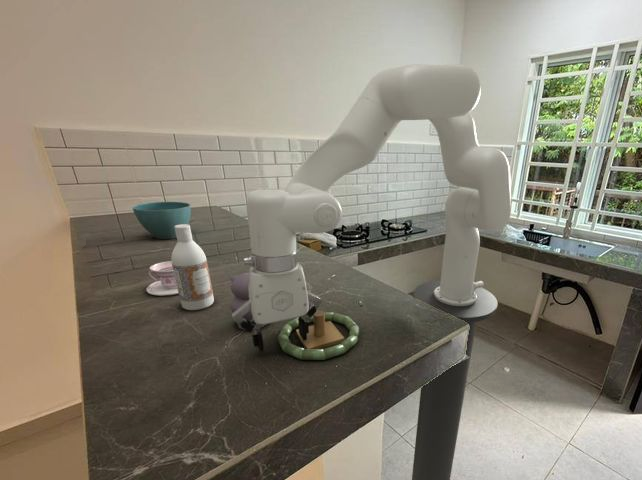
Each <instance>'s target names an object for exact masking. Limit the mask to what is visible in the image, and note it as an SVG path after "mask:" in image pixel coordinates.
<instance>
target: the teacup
mask: <svg viewBox="0 0 642 480" xmlns="http://www.w3.org/2000/svg"><path fill="white" fill-rule="evenodd" d="M146 272H147V273H148V276H149V277H150V278H151V279H153V280H154V282H152V283H150V284H149V285H148V286H146V289H145V291H146V293H147V294H149V295H151V296H160V297H164V296H174V295H179V292H178V288H177V284H176V280H175V275H174V271H173V267H172V261H171V260H168V261H162V262H158V263H155V264H153V265H152V264H151V266H149V269H148V270H146ZM152 273H154V274H156V276H157V277H158V278H159V279H158V278H156V277H155V276H153V274H152Z"/></svg>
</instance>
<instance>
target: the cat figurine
mask: <svg viewBox="0 0 642 480" xmlns="http://www.w3.org/2000/svg"><path fill="white" fill-rule="evenodd" d="M249 273H250V272H244V273H241V274H239V275H236V274H230V273H227V276H228V278H229V280H230V282H231V284H230V290H231V292H232V294H233V298H232V299H231V301H230V305H229V307H230V310H231V312H232V314H233V313H234V312H235V311H236V310H237V309H239V308H240V307H241V306H242V305H244V304H245V303H246V302H247V301H248V300H249ZM243 318H244V319H247V320H248V321H250V322H251V320H252V319H253V317H252V313H251V311H249V312H248V313H247V314H246V315H244V316H243ZM266 325H267V324H263V325H262V327H264V326H266ZM237 326H238V328H239V329H241V330H243V331H247V330H246V329H244V328H242V327H241V326H240V325H239V324H237ZM262 327H261V328H262Z"/></svg>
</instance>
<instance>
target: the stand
mask: <svg viewBox="0 0 642 480" xmlns="http://www.w3.org/2000/svg"><path fill="white" fill-rule="evenodd" d="M324 312H325V311H324V310H317V311H316V312H315V313H314V315H313V322H312V323H313V325H309V333H307V340H303V339H302V337H301V336H300V334H299V328H296V329H295V334H296V336H297V337H298V339H299V340H300V342H301V344H302V346H303V347H304V349H326V348H329V347H332V346H336V345H339V344H341V343H342V342H343V341H344V340H346V338H345V336H344V335H343V334H342V333H341V332H340V330H339V329H338V328H337V327H336V326H335V325H334V323H333V321H325V313H324Z"/></svg>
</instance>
